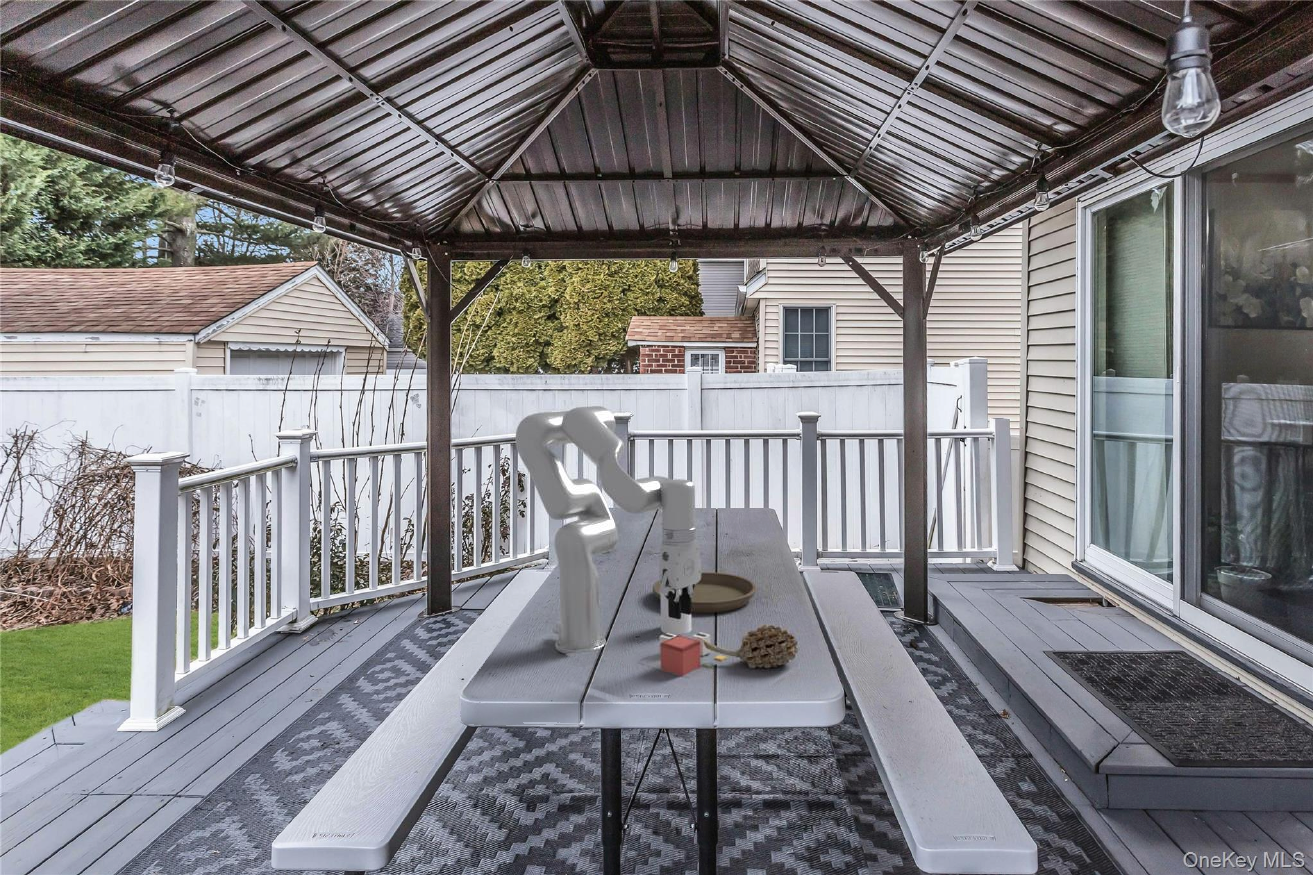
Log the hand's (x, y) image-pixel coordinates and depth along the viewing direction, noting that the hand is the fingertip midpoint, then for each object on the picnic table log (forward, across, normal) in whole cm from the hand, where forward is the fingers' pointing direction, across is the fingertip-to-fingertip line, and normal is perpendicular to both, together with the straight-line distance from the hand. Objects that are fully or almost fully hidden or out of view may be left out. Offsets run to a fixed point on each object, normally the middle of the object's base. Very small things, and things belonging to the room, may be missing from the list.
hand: (680, 614), depth 171 cm
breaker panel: (+13, +5, +2) cm, 14 cm away
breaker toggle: (+12, +10, +2) cm, 16 cm away
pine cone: (+14, +11, -11) cm, 21 cm away
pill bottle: (+14, +20, +17) cm, 30 cm away
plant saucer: (+14, +49, +29) cm, 59 cm away
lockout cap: (+12, 0, 0) cm, 12 cm away
